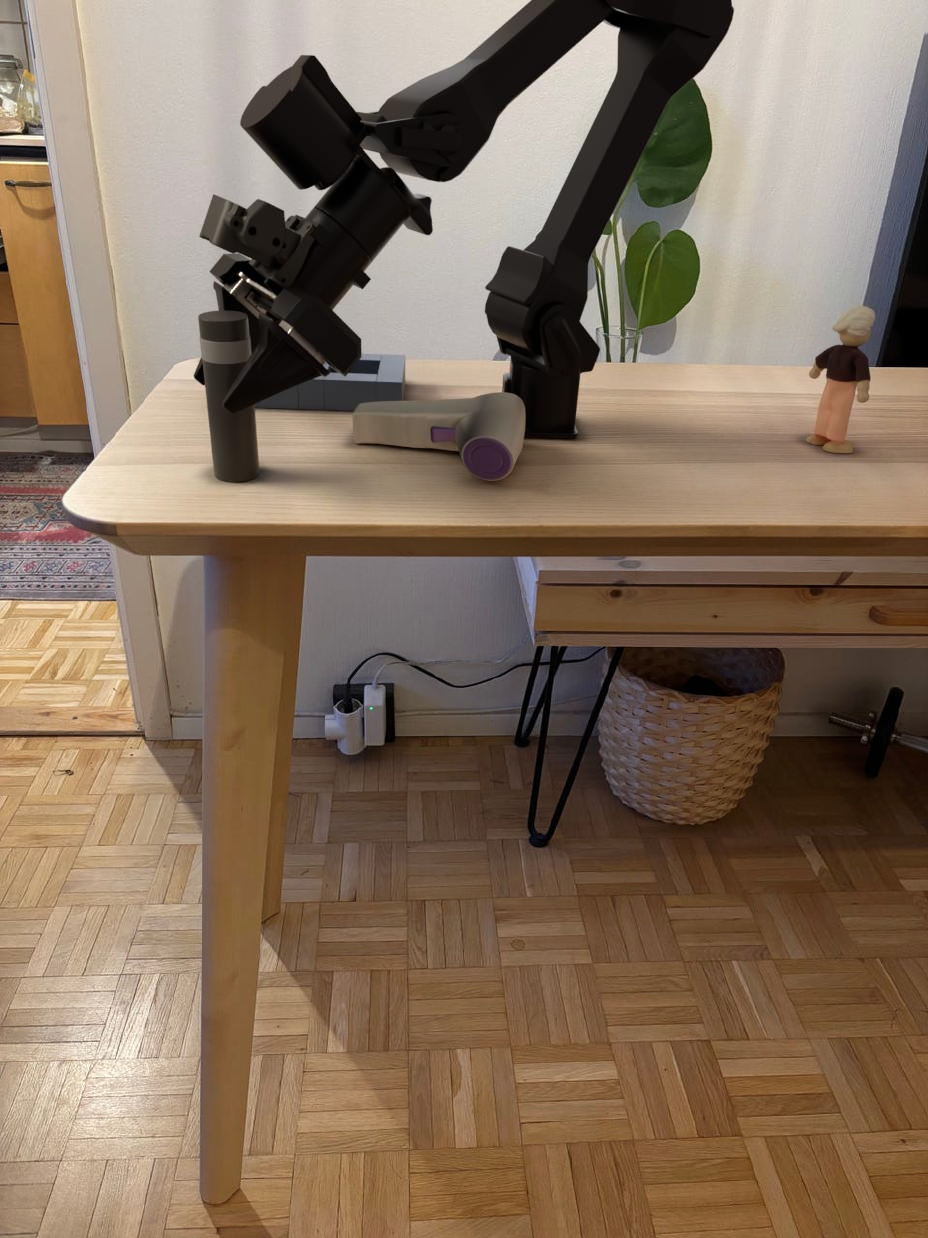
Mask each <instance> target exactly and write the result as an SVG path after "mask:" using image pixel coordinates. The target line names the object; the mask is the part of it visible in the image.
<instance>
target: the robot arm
mask: <svg viewBox="0 0 928 1238" xmlns="http://www.w3.org/2000/svg"><path fill="white" fill-rule="evenodd" d="M734 13H735V8H734V6H733V2H732V0H530V1H528V2H527V3H526V4H525V5H524V6H523V7H522V8H521V9H520V10H518V11H517V12H516V13H515V14H514V15H513V16H511V17H510V18H509V19H508V20H507V21H506V22H504V23H503V24H502V25H501V26H500V27H499V28H498V29H497V30H495V31H494V32H493V33H492V34H491V35H490V36H489V37H488V38H486V39H485V40H484V41H482V42H481V43H480V44H479V45H478V46H477V47H476V48H475V49H474V50H473V51H472V52H470V53H469V54H468V55H467V56H466V57H465V58H463V59H462V60H460V61H458V62H457V63H455V64H452V65H451V66H449V67H447V68H444V69H441V70H440V71H437V72H435V73H433V74H430V75H427V76H425V77H423V78H421V79H419V80H417V81H415V82H414V83H412V84H410V85H408V86H407V87H405V88H403V89H402V90H400V91H398V92H396V93H394V94H392V95H391V96H390V97H389V98H387V99H386V100H385V102H383V104H382V105H381V106H380V108H379V110H376V111H369V112H362V111H356V110H355V108H354V107H353V106H352V105H351V103H350V102H349V100H347V98H345V97H346V96H344V95H343V93H342V92H341V91H340V90H339V88H338V87H337V86H336V85H335V84H334V82H333V81H332V79H331V77H330V75H329V73H328V70H327V69H326V68H325V66H324V65H323V64H322V63H321V62H320V60H319V59H318V58H317V56H316V55H312V54H301V55H299V57H298V58H297V59H296V60H295V61H294V63H293V64H292V65H291V66H290V67H288V68H286V69H284V70H283V71H281V73H279V74H278V75H276V76H275V77H274V78H273V79H272V80H271V81H270V82H268V84H267V85H262V86H261V87H260V88H259V89H258V90H257V91H256V92H255V94H254V95H253V97H252V98H251V99H250V101H249V102H248V104H247V105H246V107H245V108H244V111H243V113H242V115H241V118H240V121H239V125H240V127H241V128H242V130H244V131H245V132H246V134H247V135H248V136H249V137H250V138H251V139H252V141H254V143H255V144H256V145H257V146H258V147H259V148H260V149H261V150H262V151H263V152H264V153H265V155H266V156H267V157H269V159H270V160H271V161H272V162H273V163H274V164H275V165H276V167H277V168H278V169H279V170H280V171H281V172H282V173H283V174H284V175H285V177H287V178H288V179H289V181H290V182H291V183H292V184H293V185H294V186H295V187H296V188H297V189H298V190H307V189H310V188H313V187H315V189H316V190H318V191H324V190H326V189H327V191H326V192H325V193H324V194H323V196H321V198H320V199H319V200H318V201H317V203H316V204H315V205H314V207H312V209H311V210H310V211H309V213H307V215H306V216H305V217H303V216H301V215H298V214H295V215H290V216H288V218H287V219H286V217H285V216H286V215H285V210H284V209H282V208H279V207H277V206H276V205H274V204H271V203H269V202H267V201H266V200H262V199H260V198H257V199H255V200H254V201H253V202H252V203H251V204H250V205H249V206H248V207H244V206H242V205H241V204H239V203H238V204H237V203H235V202H233V201H231V200H228V199H226V198H224V197H222V196H219V195H218V194H212V196H211V200H210V203H209V205H208V209H207V212H206V215H205V218H204V221H203V224H202V227H201V230H200V232H199V238H201V239H202V240H206V241H207V242H209V243H210V244H211V245H213V246H215V247H217V248H220V249H221V250H224V251H226V252H229V253H223V254H222V255H221V256H220V258H219V259H218V260H217V262H215V264H214V265H213V266H212V267H211V269H210V270H209V273H210V274H211V275H212V276H213V277H214V278H215V279H216V280H218V282H217V281H215V280H214V281H213V284H212V288H213V290H214V291H215V296H216V302H217V308H218V311H237V312H242V313H245V314H247V315H248V324H249V335H250V342H251V356H250V358H249V359H248V361H247V362H246V364H245V366H244V367H243V369H242V370H241V372H240V374H239V375H238V377H237V378H236V380H235V381H234V383H233V385H232V386H231V388H230V390H229V392H228V393H227V395H226V397H225V399H224V400H223V402H222V405H223V407H224V408H225V409H227V410H228V411H229V412H230V413H232V414H235V413H237V412H239V411H242V410H244V409H246V408H248V407H250V406H252V405H255V404H257V403H259V402H261V401H263V400H265V399H267V398H270V397H272V396H274V395H276V394H278V393H281V392H283V391H285V390H287V389H290V388H292V387H295V386H297V385H300V384H302V383H305V382H307V381H310V380H312V379H314V378H317V377H319V376H324V377H326V376H328V375H329V374H330V372H329V371H328V370H327V369H326V368H325V367H324V366H323V365H324V364H325V363H327V364H328V365H329V366H330V367H331V368H333V369H334V370H336V371H337V372H339V373H340V374H342V375H343V376H345V377H346V375H347V374H348V373H349V372H350V370H351V369H352V368H353V367H354V366H355V364H356V363H357V362H358V361H359V360H360V358H361V354H362V338H361V337H360V336H359V335H358V334H357V333H356V332H355V331H354V330H353V329H352V328H351V327H350V326H349V325H348V324H347V323H346V322H345V321H344V320H343V319H342V318H341V317H340V316H339V315H338V314H337V313H336V312H335V311H334V309H335V308H336V306H338V304H339V303H340V302H341V300H342V299H343V298H344V297H345V296H346V294H347V293H348V292H349V291H350V290H351V289H352V288H353V286H355V287H357V288H359V289H362V290H364V288H366V286H367V285H368V284H369V283H370V282H371V280H372V278H371V277H370V276H369V275H368V274H367V273H366V272H365V271H367V269H368V268H369V266H370V265H371V264H372V263H373V262H374V261H375V259H376V258H377V257H378V256H379V254H381V252H382V250H384V249H385V247H386V246H387V245H388V244H389V242H390V241H391V240H392V239H393V238H394V236H395V235H396V234H397V233H398V232H399V230H400V229H401V228H402V227H403V226H404V227H405V228H406V229H407V230H410V231H413V232H416V233H418V234H422V235H424V236H431V235H432V234H433V231H434V226H433V218H432V213H431V208H432V207H431V206H432V201H433V200H432V197H431V196H429V195H425V194H422V193H413V191H412V190H411V189H410V188H409V186H408V185H407V184H406V183H405V182H404V180H403V179H402V178H401V176H400V175H399V174H401V175H405V176H409V177H414V178H418V179H423V180H426V181H431V182H436V183H446V182H450V181H453V180H454V179H455V178H457V177H459V176H460V175H461V174H462V173H464V171H465V170H466V169H467V168H468V167H469V165H470V164H471V163H472V162H473V160H474V159H475V158H476V157H477V155H478V154H479V153H480V151H481V150H482V149H483V148H484V146H486V144H487V143H488V141H489V140H490V139H491V136H492V134H493V131H494V128H495V126H496V124H497V121H498V119H499V117H500V116H501V115H502V114H503V112H504V111H505V110H506V108H507V107H508V106H509V105H510V104H512V103H513V101H514V100H516V99H517V98H518V97H519V96H520V95H521V94H522V93H523V92H525V91H526V90H527V89H528V88H529V87H531V86H532V84H533V83H535V82H536V81H537V80H538V79H539V78H540V77H542V76H543V75H544V74H545V73H546V72H547V71H548V70H549V69H551V68H552V67H553V66H555V64H556V63H557V62H558V61H560V60H561V59H562V58H563V57H564V56H565V55H567V54H568V53H569V52H570V51H571V50H572V49H573V48H574V47H576V46H577V45H578V44H579V43H580V42H581V41H582V40H584V38H587V36H588V35H590V33H591V32H592V31H594V30H595V29H596V28H597V27H598V26H600V24H601V23H604V24H606V25H608V26H610V27H613V28H616V29H619V30H618V33H617V61H616V62H617V63H616V67H617V69H616V73H615V77H614V78H613V81H612V82H611V85H610V87H609V89H608V91H607V93H606V95H605V98H604V99H603V102H602V104H601V106H600V107H599V110H598V113H597V114H596V116H595V118H594V120H593V123H591V126H590V129H589V130H588V133H587V135H586V137H585V139H584V141H583V143H582V145H581V147H580V150H579V151H578V154H577V156H576V158H575V160H574V162H573V164H572V166H571V168H570V170H569V172H568V175H567V176H566V178H565V180H564V182H563V185H562V186H561V189H560V191H559V193H558V195H557V197H556V199H555V200H554V201H555V202H554V203H553V206H552V207H551V210H550V211H549V214H548V215H547V217H546V219H545V222H544V224H543V226H542V228H541V230H540V231H539V234H538V235H537V237H536V238H535V239H534V240H533V241H532V242H531V243H530V244H529V245H527V246H526V247H525V248H524V249H521V248H518V247H515V246H511V245H508V246H507V247H506V248H505V250H504V251H503V252H502V255H501V258H500V260H499V264H498V267H497V270H496V272H495V274H494V275H493V277H492V279H491V280H490V281H489V282H488V283H487V284H486V285H485V287H484V288H485V289H484V290H486V291H489V293H488V295H487V298H486V301H485V305H484V314H485V315H486V320H487V325H488V327H489V328H490V331H491V332H492V333H493V334H494V335H495V337H496V341H497V344H498V348H499V351H500V353H501V354H503V355H507V356H509V360H510V361H509V372H504V373H503V375H502V386H501V387H502V388H501V392H506V393H511V394H515V395H517V396H518V397H520V398H521V399H522V401H523V403H524V406H525V416H526V421H525V433H524V437H527V438H528V437H530V438H558V439H559V438H560V439H563V438H565V439H576V438H578V436H579V431H578V428H577V426H576V419H577V410H578V409H577V408H578V402H579V401H578V400H579V391H580V383H581V374H583V373H591V372H592V371H593V370H594V368H595V365H596V363H597V360H598V357H599V355H600V353H601V347H600V346H599V344H598V343H597V342H596V341H595V339H594V338H593V337H592V336H591V334H590V333H589V332H588V330H587V329H586V328H585V326H584V325H583V323H581V318H582V316H583V313H584V310H585V307H586V304H587V303H588V295H589V292H588V291H589V264H590V260H591V258H592V256H593V254H594V251H595V250H596V248H597V245H598V244H599V242H600V240H601V238H602V236H603V234H604V232H605V230H606V228H607V226H608V224H609V222H610V220H611V218H612V216H613V214H614V211H616V208H617V206H618V204H619V202H620V200H621V198H622V196H623V193H624V191H625V190H626V187H627V185H628V183H629V182H630V180H631V178H632V175H633V174H634V172H635V170H636V167H637V165H639V163H640V160H641V157H642V156H643V153H644V151H645V150H646V147H647V145H648V143H649V141H650V140H651V138H652V136H653V133H654V132H655V130H656V127H657V125H658V123H659V122H660V119H661V117H662V115H663V114H664V112H665V110H666V107H667V106H668V104H669V102H670V101H671V99H672V98H673V97H674V96H675V95H676V94H677V93H678V92H679V91H680V90H682V89H683V88H684V87H685V86H686V85H687V84H689V82H691V81H692V80H694V78H695V77H696V76H698V74H700V73H701V72H702V71H703V70H704V69H705V68H706V66H707V64H708V63H709V62H710V60H711V58H712V57H713V55H714V54H715V53H716V51H717V50H718V48H719V46H720V45H721V44H722V42H723V41H724V40H725V37H726V36H727V34H728V32H729V31H730V30H729V29H730V27H731V25H732V22H733V18H734ZM365 150H366V151H369V152H374V153H377V154H379V155H380V159H381V160H382V161H383V162H384V163H385V164H386V166H387V167H381V168H380V167H379V166H378V165H377V164H376V163H375V161H373V159H372V158H371V157H370V155H368V153H367V152H366V151H365ZM219 283H221V284H219ZM193 378H194V380H195V381H197V382H198V383H199V384H200V385H201V386H205V379H204V369H203V360H202V357H201V356H200V359H199V361H198V363H197V365H196V368H195V371H194V373H193Z"/></svg>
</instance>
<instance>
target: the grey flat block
mask: <svg viewBox="0 0 928 1238" xmlns="http://www.w3.org/2000/svg"><path fill="white" fill-rule="evenodd" d="M323 366H324V367H325V368H326V369H327V370H328V371H329V372H330V374H329V375H328V376H326V377H324V376H319V377H317V378H314V379H312V380H310V381H307V382H305V383H302V384H300V385H297V386H295V387H292V388H290V389H287V390H285V391H283V392H281V393H278V394H276V395H274V396H272V397H270V398H267V399H265V400H263V401H261V402H259V403H257V404H255V409H257V408H258V409H284V410H285V409H287V410H309V411H310V410H311V411H312V410H317V411H341V412H342V411H343V412H354V410H355V409H356V407H357V406H358V404H360V403H368V402H381V401H404V398H405V389H406V355H405V354H384V353H361V358H360V360H359V361H358V362H357V363H356V364H355V366H354V367H353V368H352V369H351V370H350V372H349V373H348V374H347V375H346V377H345V376H343V375H342V374H340V373H339V372H337V371H336V370H334V369H333V368H331V367H330V366H329V365H328V364H327V363H325V364H324V365H323Z"/></svg>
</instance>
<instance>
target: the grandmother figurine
mask: <svg viewBox="0 0 928 1238" xmlns="http://www.w3.org/2000/svg"><path fill="white" fill-rule="evenodd" d="M875 321H876V314H875V311H874V310H873V309H872V308H870V307H868V306H867V305H855V306H853V307H851V308H849V309H847V310H846V311H844V312H843V313H842V314H840V316H839V317H838V318H837V319H836V321H835V323H833V324H832V330H833V332H836V333H837V334H838V335H839V340H840V342H841V344H834V345H832V346H830V347H828V348H826V349H825V350H823V351H822V352H820V353H819V354H818V355H817V356H815V358H814V363H813V364H812V368H811V369H809V371H808V376H809V378H811V379H813V380H815V379H816V380H817V379H818V378H820V375H821V372H823V371H824V370H826V372H825V379H826V382H825V385H824V388H823V391H822V393H821V397H820V400H819V404H818V408H817V413H816V418H815V422H814V426H813V434H811V435H809V436H808V437H807V438H806V443H808V444H811V445H814V446H822V449H823V451H825V452H828V453H834V454H852V453H853V452H854V446H853V444H852V443H851V441H849V440H847V439H846V438H847V435H848V427H849V422H850V418H851V413H852V408H853V405H854V400H855V396H856V401H857V402H858V403H861V404H863V403H867V402H868V401H869V399H870V394H869V391H870V385H871V384H870V383H871V378H872V377H871V371H870V365H869V357H868V356H867V355H866V354H865V353H864V352H863V351H862V350H861V349H860V348H859V347H861V346H863V345H865V344H866V343H867V342H868V340H869V338H870V336H871V332H872V330H871V328H872V327H874V323H875ZM856 391H857V394H856Z"/></svg>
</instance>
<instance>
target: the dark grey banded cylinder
mask: <svg viewBox="0 0 928 1238" xmlns="http://www.w3.org/2000/svg"><path fill="white" fill-rule="evenodd" d="M197 319H198V330H199V345H200V355H201V356H200V358H201V357H202V360H203V369H204V379H205V385H204V388H205V398H206V407H207V418H208V427H209V437H210V444H211V445H210V446H211V457H212V465H213V475H214V477H215V478H216V479H217V480H219V481H223V482H230V483H240V482H241V483H242V482H247V481H251V480H254V479H256V478H257V477H259V475H260V471H261V470H260V460H259V459H260V458H259V445H258V433H257V419H256V408H255V405H252V406H250V407H248V408H246V409H244V410H242V411H239V412H237V413H235V414H232V413H230V412H229V411H228V410H227V409H225V408H224V407H223V405H222V402H223V400H224V399H225V397H226V395H227V393H228V392H229V390H230V388H231V386H232V385H233V383H234V381H235V380H236V378H237V377H238V375H239V374H240V372H241V370H242V369H243V367H244V366H245V364H246V362H247V361H248V359H249V358H250V356H251V342H250V335H249V324H248V315H247V314H245V313H242V312H237V311H219V310H210V311H205V312H202V313H199V314H198V317H197Z"/></svg>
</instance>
